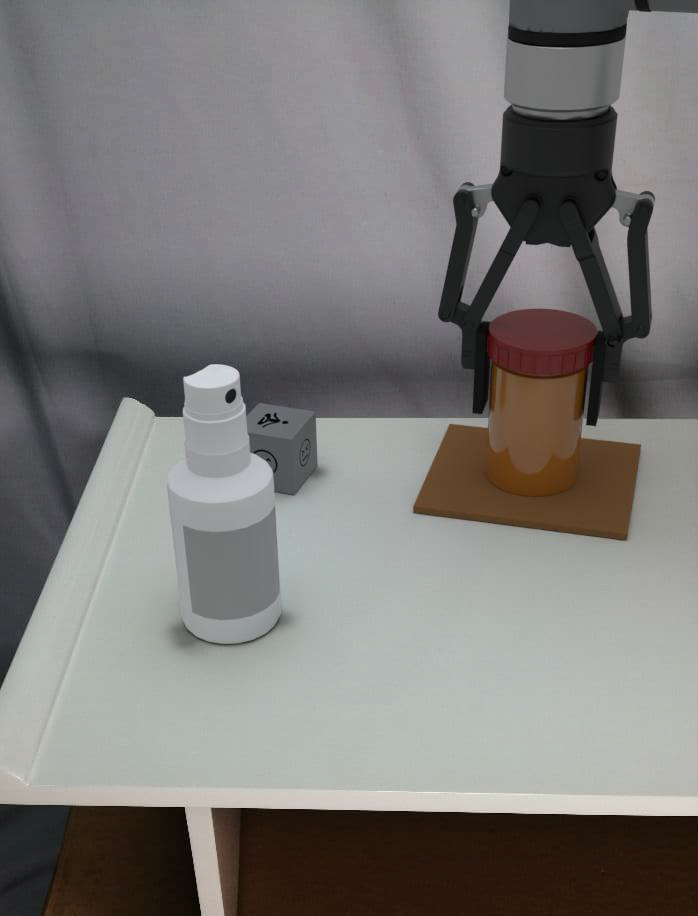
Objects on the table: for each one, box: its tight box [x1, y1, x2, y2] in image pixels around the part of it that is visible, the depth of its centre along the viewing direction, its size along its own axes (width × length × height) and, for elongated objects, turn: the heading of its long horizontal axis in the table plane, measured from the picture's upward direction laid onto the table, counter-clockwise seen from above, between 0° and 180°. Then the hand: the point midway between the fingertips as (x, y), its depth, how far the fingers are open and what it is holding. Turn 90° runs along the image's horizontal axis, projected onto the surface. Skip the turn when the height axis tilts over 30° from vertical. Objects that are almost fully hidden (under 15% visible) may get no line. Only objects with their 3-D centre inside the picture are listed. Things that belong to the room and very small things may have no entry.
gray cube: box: [246, 402, 319, 496], centre depth 95 cm, size 5×5×5 cm
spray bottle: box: [166, 363, 282, 645], centre depth 76 cm, size 7×7×18 cm
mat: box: [412, 423, 642, 541], centre depth 94 cm, size 16×14×1 cm
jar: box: [485, 360, 590, 496], centre depth 90 cm, size 7×7×12 cm
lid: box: [486, 308, 598, 375], centre depth 87 cm, size 8×8×2 cm
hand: (535, 411), depth 91 cm, fingers closed on lid, 8 cm apart
